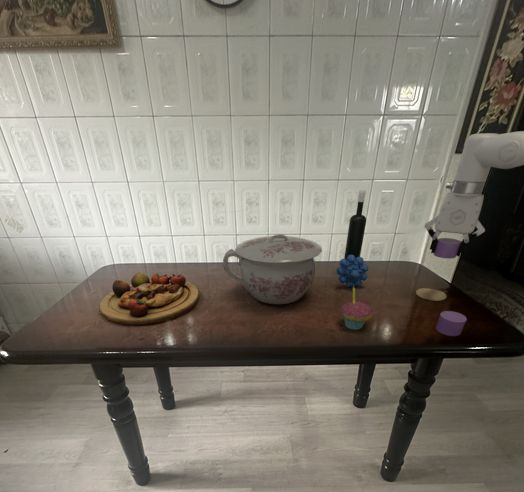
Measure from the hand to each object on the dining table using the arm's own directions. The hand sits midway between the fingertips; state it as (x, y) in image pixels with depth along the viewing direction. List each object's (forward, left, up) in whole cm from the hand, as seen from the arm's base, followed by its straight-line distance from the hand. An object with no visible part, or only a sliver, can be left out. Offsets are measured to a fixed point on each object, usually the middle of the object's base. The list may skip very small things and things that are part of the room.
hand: (445, 253), depth 93 cm
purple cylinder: (0, 0, -1) cm, 1 cm away
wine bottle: (+30, -9, -15) cm, 35 cm away
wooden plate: (+82, +46, -15) cm, 95 cm away
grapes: (+26, +4, -15) cm, 30 cm away
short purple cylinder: (-6, +21, -15) cm, 26 cm away
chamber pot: (+47, +22, -15) cm, 54 cm away
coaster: (0, -3, -15) cm, 15 cm away
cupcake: (+18, +30, -15) cm, 38 cm away
